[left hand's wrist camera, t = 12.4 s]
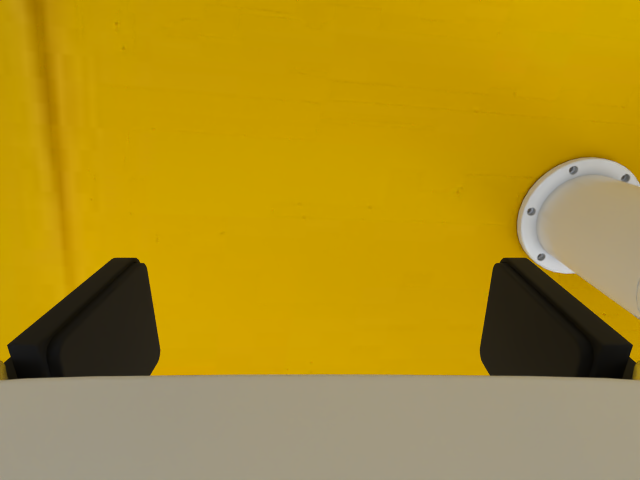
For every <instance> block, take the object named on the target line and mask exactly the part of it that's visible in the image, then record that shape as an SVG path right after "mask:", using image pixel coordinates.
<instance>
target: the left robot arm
mask: <svg viewBox="0 0 640 480" xmlns="http://www.w3.org/2000/svg"><path fill="white" fill-rule="evenodd" d="M569 169H570V170H569ZM528 209H529V211H528ZM517 233H518V237H519V241H520V244H521V246H522V248H523V250H524V251H525V252H526V254H527V255H528V256H529V257H530V258H531V259H532V260H533V261H534V262H536V263H537V264H538V265H540V266H542V267H543V268H545V269H548V270H551V271H553V272H558V273H565V274H566V273H576V274H577V275H579V276H580V277H582V278H583V279H584V280H586V281H587V282H588V283H590V284H591V285H593V286H594V287H595V288H597V289H598V290H600V291H601V292H602V293H604V294H605V295H606V296H608V297H609V298H611V299H612V300H613V301H615V302H616V303H618V304H619V305H620V306H622V307H623V308H624V309H626V310H627V311H629V312H630V313H631V314H633V315H634V316H636V317H637V318H638V319H640V184H639V182H638V180H637V179H636V177H635V176H634V174H633V173H632V172H630V171H629V170H628V169H627V168H626V167H624V166H622V165H621V164H619V163H617V162H614V161H611V160H607V159H602V158H596V157H586V158H578V159H574V160H570V161H567V162H565V163H562V164H560V165H558V166H556V167H555V168H553V169H551V170H550V171H548V172H547V173H546V174H544V175H543V176H542V177H541V178H540V179H539V180H537V182H536V183H535V184H534V185H533V186H532V187H531V189H530V190H529V192H528V193H527V195H526V197H525V198H524V200H523V202H522V205H521V207H520V210H519V214H518V220H517ZM7 346H8V349H9V353H10V356H11V357H10V358H9V359H8V360H7V361H6V362H4V363H3V362H2V361H0V480H640V361H638V362H637V363H636V362H634V361H633V360H632V359H631V358H630V357H629V356H630V353H631V349H632V346H633V345H632V344H631V343H630V342H628V341H627V340H626V339H625V338H624V337H622V336H621V335H620V334H619V333H617V332H616V331H615V330H614V329H613V328H611V327H610V326H609V325H608V324H606V323H605V322H604V321H603V320H602V319H600V318H599V317H598V316H597V315H596V314H594V313H593V312H592V311H591V310H589V309H588V308H587V307H586V306H585V305H583V304H582V303H581V302H580V301H578V300H577V299H576V298H575V297H574V296H572V295H571V294H570V293H569V292H568V291H566V290H565V289H564V288H563V287H561V286H560V285H559V284H558V283H557V282H555V281H554V280H553V279H552V278H550V277H549V276H548V275H547V274H546V273H544V272H543V271H542V270H541V269H540V268H538V267H537V266H536V265H535V264H533V263H532V262H531V261H530V260H529V259H527V258H503V259H502V260H501V262H500V263H496V264H495V265H494V267H493V272H492V278H491V284H490V290H489V296H488V302H487V308H486V315H485V321H484V327H483V333H482V339H481V345H480V357H481V360H482V363H483V364H484V366H485V368H486V369H487V371H488V373H489V374H490V376H461V375H177V376H150V374H151V373H152V371H153V369H154V368H155V366H156V364H157V363H158V360H159V357H160V345H159V339H158V333H157V327H156V321H155V315H154V308H153V302H152V296H151V290H150V284H149V278H148V272H147V267H146V265H145V264H144V263H140V262H139V260H138V259H137V258H113V259H111V260H110V261H109V262H108V263H107V264H105V265H104V266H103V267H102V268H100V269H99V270H98V271H97V272H96V273H94V274H93V275H92V276H91V277H90V278H88V279H87V280H86V281H85V282H83V283H82V284H81V285H80V286H79V287H77V288H76V289H75V290H74V291H72V292H71V293H70V294H69V295H68V296H66V297H65V298H64V299H63V300H62V301H60V302H59V303H58V304H57V305H55V306H54V307H53V308H52V309H51V310H49V311H48V312H47V313H46V314H44V315H43V316H42V317H41V318H40V319H38V320H37V321H36V322H35V323H34V324H32V325H31V326H30V327H29V328H27V329H26V330H25V331H24V332H23V333H21V334H20V335H19V336H18V337H16V338H15V339H14V340H13V341H12V342H10V343H9V344H8V345H7Z"/></svg>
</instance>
